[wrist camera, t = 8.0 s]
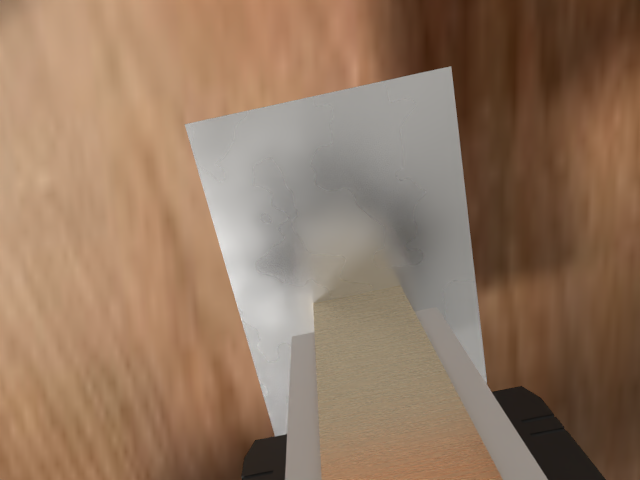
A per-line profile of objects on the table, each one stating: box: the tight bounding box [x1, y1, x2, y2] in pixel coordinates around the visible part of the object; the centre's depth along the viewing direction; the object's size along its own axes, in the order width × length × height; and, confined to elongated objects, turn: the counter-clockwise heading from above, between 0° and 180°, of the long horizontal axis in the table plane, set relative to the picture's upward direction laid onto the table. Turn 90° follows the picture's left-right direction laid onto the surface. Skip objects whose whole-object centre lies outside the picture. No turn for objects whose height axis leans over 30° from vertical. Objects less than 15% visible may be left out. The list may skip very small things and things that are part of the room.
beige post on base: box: [185, 66, 503, 480], centre depth 12 cm, size 16×8×10 cm, turn 12°
